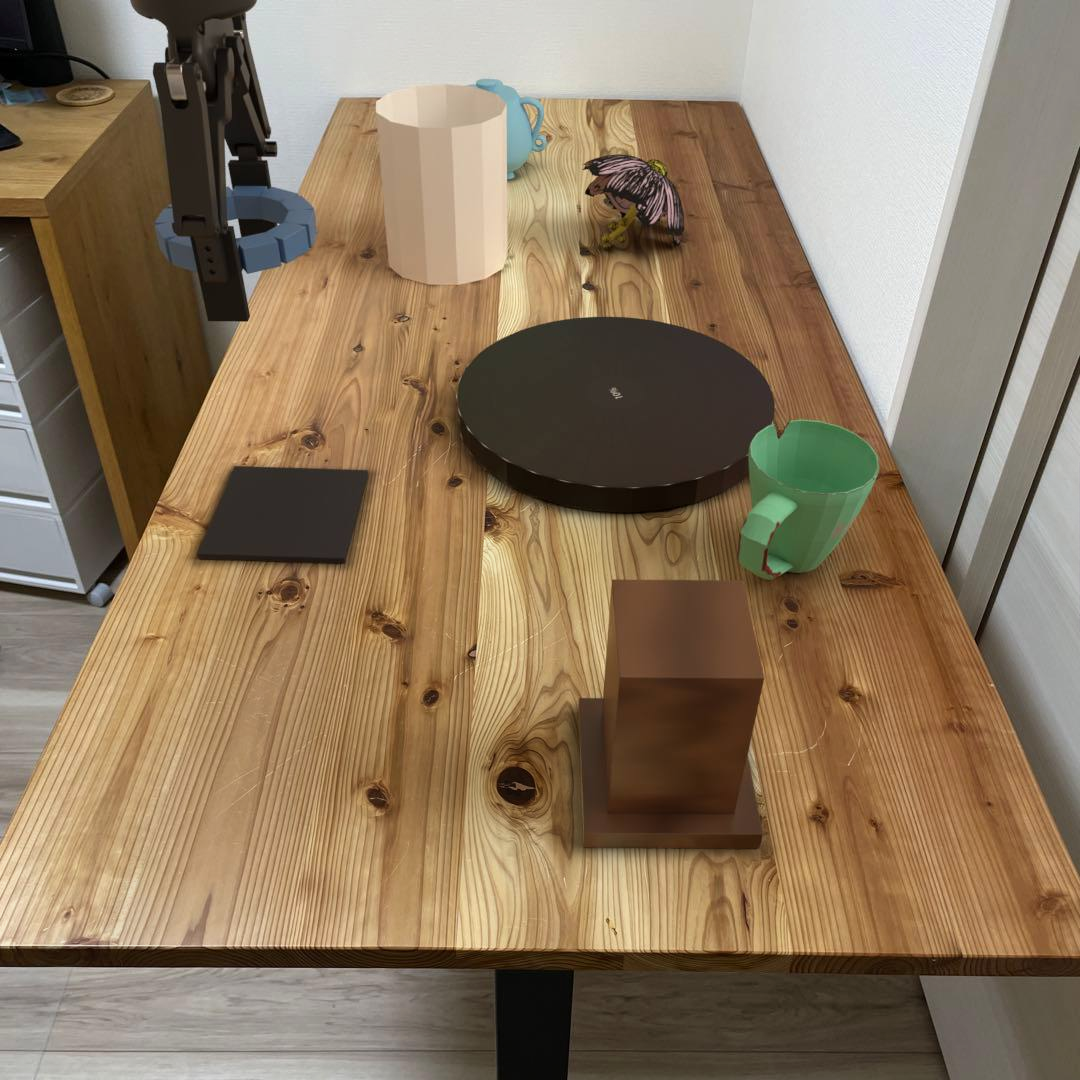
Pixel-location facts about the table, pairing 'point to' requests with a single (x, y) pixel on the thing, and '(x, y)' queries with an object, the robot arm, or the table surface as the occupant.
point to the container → (444, 182)
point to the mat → (285, 515)
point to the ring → (253, 249)
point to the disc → (613, 413)
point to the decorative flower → (636, 194)
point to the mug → (803, 495)
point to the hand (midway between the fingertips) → (246, 280)
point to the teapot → (517, 123)
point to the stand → (673, 720)
